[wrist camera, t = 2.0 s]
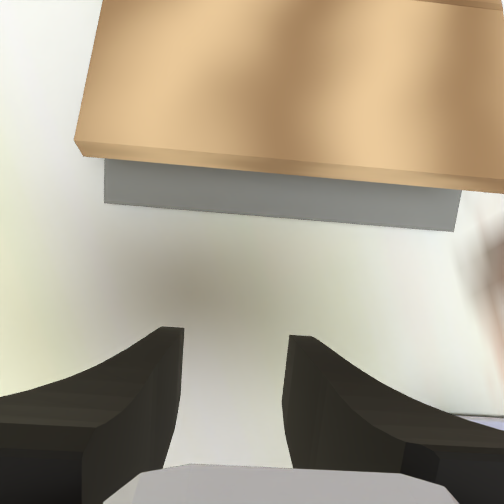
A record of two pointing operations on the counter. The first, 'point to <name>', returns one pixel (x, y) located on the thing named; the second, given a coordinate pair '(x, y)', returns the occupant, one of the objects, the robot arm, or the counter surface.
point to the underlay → (279, 195)
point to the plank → (302, 88)
